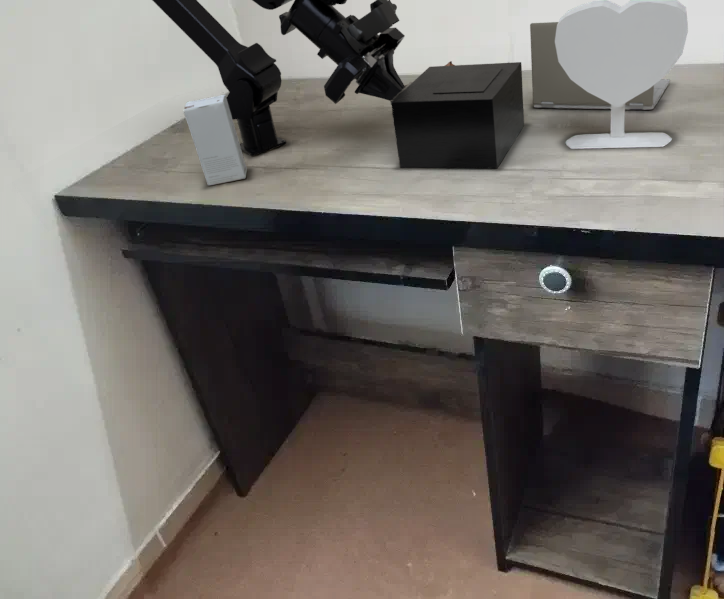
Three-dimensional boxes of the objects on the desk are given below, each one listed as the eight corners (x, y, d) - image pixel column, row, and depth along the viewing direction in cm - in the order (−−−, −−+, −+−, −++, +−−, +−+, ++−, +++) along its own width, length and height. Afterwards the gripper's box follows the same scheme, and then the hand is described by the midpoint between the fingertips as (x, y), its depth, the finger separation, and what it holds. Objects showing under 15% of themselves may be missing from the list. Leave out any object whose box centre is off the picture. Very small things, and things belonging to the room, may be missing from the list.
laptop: (670, 83, 114) (676, -4, 107) (652, 111, 105) (657, 18, 98) (557, 83, 123) (556, 2, 116) (532, 109, 114) (529, 23, 107)
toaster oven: (394, 167, 103) (384, 101, 98) (430, 126, 115) (423, 66, 110) (497, 168, 97) (492, 98, 92) (524, 125, 109) (521, 61, 104)
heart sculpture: (679, 132, 97) (689, -10, 88) (679, 146, 93) (690, -1, 84) (560, 135, 103) (558, 2, 94) (556, 149, 99) (553, 11, 90)
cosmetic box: (247, 169, 112) (227, 92, 106) (246, 180, 108) (225, 101, 102) (208, 176, 112) (186, 100, 106) (205, 187, 108) (182, 109, 102)
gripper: (328, -1, 92) (420, 82, 93) (382, -31, 106) (462, 42, 107) (288, 65, 99) (374, 141, 100) (344, 29, 113) (419, 96, 114)
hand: (409, 102), depth 105 cm, fingers closed, pressing on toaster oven
